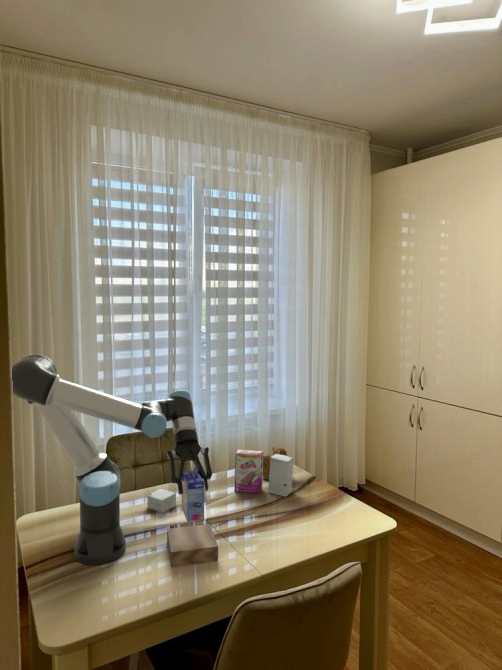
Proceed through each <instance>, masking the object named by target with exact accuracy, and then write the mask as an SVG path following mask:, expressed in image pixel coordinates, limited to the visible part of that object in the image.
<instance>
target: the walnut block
mask: <svg viewBox="0 0 502 670" xmlns="http://www.w3.org/2000/svg"><path fill="white" fill-rule="evenodd" d="M166 544H167V551H168V556H169V562H170V567H171V568H173V567H174V568H175V567H182V566H190V565H197V564H198V565H199V564H205V563H212V562H219V545H218V542H217V539H216V537H215V534H214V531H213V528H212V526H211V523H208V524H201V525H189V526H183V527H182V526H181V527H173V528H166Z"/></svg>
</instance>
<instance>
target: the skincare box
mask: <svg viewBox="0 0 502 670" xmlns="http://www.w3.org/2000/svg"><path fill="white" fill-rule="evenodd" d="M270 457H271V458H270V472H269V480H268V490H267V493H268V494H274V495H277V496H282V497H285V498H286V497H287V496H289V494H291V493H292V489H293V487H292V486H293V474H294V473H293V472H294V460H295V459H294V457H292V456H288V455H286V456H285V455H279V454H275V455H273V454H272V456H270Z"/></svg>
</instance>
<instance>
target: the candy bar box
mask: <svg viewBox="0 0 502 670" xmlns="http://www.w3.org/2000/svg"><path fill="white" fill-rule="evenodd" d="M263 456H264V451H262V450H249V449H236V451H235V457H234V458H235V460H234V462H235V465H234V492H235V493H245V494H246V493H248V494H260V495H261V494H262V491H263V478H264V477H263Z"/></svg>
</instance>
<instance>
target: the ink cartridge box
mask: <svg viewBox="0 0 502 670" xmlns="http://www.w3.org/2000/svg"><path fill="white" fill-rule="evenodd" d="M182 481H185V489H186V496H187V504H186V506H184V504H183V497H182V496H181V510H182V513H183V515H184V517H185V520H186V522H188V523H189V522H191V523H192V522H199V521H204V520H205V503H204V481H203V479H202V478H201V476H200V474H199V473H198V469H197V467H196V466H195V467H194V469H192V470H191V471H190V470H189V471H183V476H182Z"/></svg>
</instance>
